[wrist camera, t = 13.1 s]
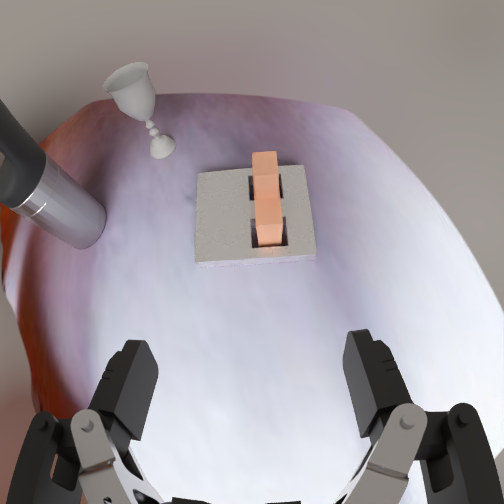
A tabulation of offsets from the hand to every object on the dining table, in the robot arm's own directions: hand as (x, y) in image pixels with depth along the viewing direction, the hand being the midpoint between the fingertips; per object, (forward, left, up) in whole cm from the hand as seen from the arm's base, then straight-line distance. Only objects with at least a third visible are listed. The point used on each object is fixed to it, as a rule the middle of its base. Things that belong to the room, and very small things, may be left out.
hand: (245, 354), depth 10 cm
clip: (+2, +17, -26) cm, 32 cm away
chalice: (-16, +34, -27) cm, 46 cm away
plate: (0, +18, -26) cm, 32 cm away
